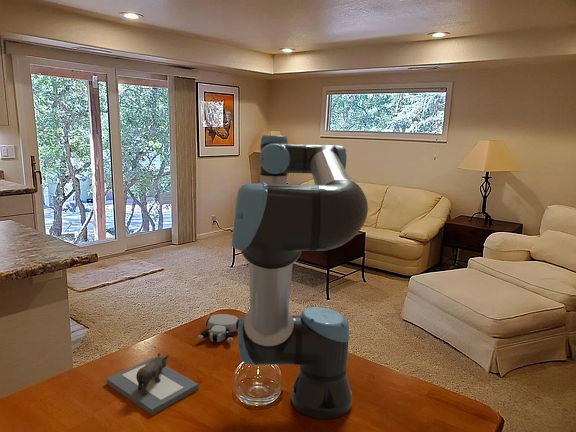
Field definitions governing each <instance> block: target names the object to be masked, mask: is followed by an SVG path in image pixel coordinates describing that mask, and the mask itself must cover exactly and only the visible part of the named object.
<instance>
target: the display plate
mask: <svg viewBox="0 0 576 432" xmlns="http://www.w3.org/2000/svg"><path fill="white" fill-rule="evenodd" d="M153 359H154V358H153V357H151V358H150V359H148V360H145V361H143V362H140V363H138V364H135V365H134V366H132V367H130V368H127V369H125V370H123V371H120V372H118V373H115V374H113V375H111V376H109V377H107V378H105V381H106V385H108V387H110V388H112V389H113V390H115V391H117V392H118V393H120V395H122V396H124V397H125V398H126V399H128V400H130V401H131V402H132V403H133V404H135V405H137V406H138V407H139V408H141V409H142V410H144V411H145V412H147V413H148V414H150V415H151V416H153V415H156V414H157V413H159V412H161V411H162V410H165V409H166V408H168V407H170V406H171V405H173V404H176V403H177V402H179V401H181V400H182V399H184V398H185V397H187V396H189V395H191V394H194V393H195V392H196V391H198V390H199V383H197V382H195V380H192V379H190V378H189V377H186V376H185V375H183V374H182V373H180V372H178V371H176V370H174V369H172V368H170V367H169V366H167V365H166V366H165V367H164V368H163V369H162V371H161V373H160V375H159V378H160V379H161V380H160V382H156V381H155V378H154V379H152V380H150V382H149V383H148V385H147V387H146V390H147V394H145V395H142V394H141V392H142V390H138V387H139V386H138V382H137V378H136V375H137V372H138V371H139V369H140V368H142V367H144V366H145V365H147V364H148V363H149V362H150V361H151V360H153ZM142 385H143V384H142Z"/></svg>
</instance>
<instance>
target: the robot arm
mask: <svg viewBox="0 0 576 432" xmlns="http://www.w3.org/2000/svg"><path fill="white" fill-rule="evenodd" d="M259 148H260V153H259V157H258V158H259V163H260V177H259V178H260V179H259V181H260V182H259V183H245V184H243V185H241V186H240V187H239V188H238V190H237V197H236V201H235V202H236V203H235V211H234V212H235V213H234V219H233V220H234V221H233V227H232V238H231V247H232V249H234V250H238V251H241V254H242V257H243V258H244V259H245V260H246V262H248V268H249V270H248V271H249V279H248V280H249V309H248V311H247V313H246V314H243V315H241V316H240V318H238V319H239V324H238V329H237V342H238V353H239V357H240V359H241V361H242V362H243V364H244V363H245V364H248V365H254V366H260V365H261V366H262V365H263V366H265V365H268V366H270V365H272V366H274V365H277V366H278V365H279V366H281V365H283V366H284V365H285V366H287V365H288V366H292V365H294V366H299V372H298V374H297V376H296V379H295V382H294V384H293V386H292V390H291V402H292V403H291V404H292V405H293V406H294V408H295V409H296V410H298V412H300V413H301V414H303V415H305V416H308V417H309V418H315V419H321V420H322V419H323V420H331V419H336V418H339V417H342V416H344V415H346V414H347V413H348V412H349V411H350V410H351V408H352V402H353V401H352V400H353V392H352V390H351V386H350V383H349V379H348V375H347V368H348V353H349V342H350V328H349V327H350V325H349V321H348V319H347V318H346V317H345V316H344V315H343V314H341V313H340V312H338V311H336V310H333V309H330V308H327V307H322V306H311V307H307V308H304V309H303V310H302V312H301V315H292V313H291V311H290V310H289V309H290V297H291V284H292V273H293V264H294V263H295V262H297V260H298V259H299V258H300V256H301V255H302V251H303V252H304V251H306V252H307V251H309V252H311V251H313V252H315V251H316V252H321V251H322V252H324V251H328V250H333V249H337V248H340V247H341V246H343V245H345V244H346V243H348V242H350V241H351V240H352V239H353V238H354V237H356V235H357V234H358V233H359V232H360V231H361V229H362V228H363V226H364V225H365V222H366V220H367V217H368V212H369V206H368V205H369V204H368V199H367V196H366V195H365V192H364V191H363V189H362V188H361V186H359V185H358V183H356V182H355V181H352V180H351V177H350V176H349V174H348V173H347V171H346V167H347V150H346V147H344V146H343V145H335V144H332V143H331V144H305V143H302V144H301V143H288V137H287V136H286V135H277V134H276V135H273V134H271V135H270V134H266V135H265V134H264V135H262V136H261V138H260V147H259ZM287 174H311V175H312V178H313V182H314V184H292V183H291V184H288V183H287V182H288V181H287Z"/></svg>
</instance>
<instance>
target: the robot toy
mask: <svg viewBox="0 0 576 432" xmlns="http://www.w3.org/2000/svg"><path fill="white" fill-rule="evenodd" d="M239 319H240V318H239V317H237V316H236V315H232V314H227V313H224V314H223V313H218V314H213V315H211V316H210V313H208V314H207V317H206V320H205V322H204V323H205V327H207V328H208V330H204V331H201V333H200V334H199V335H198V336H197V339H199V340H203V339H204V340H205V339H206V338H207V337H209V339H210V342H212V343H213V342H215V343H216V342H217V343H221V342H223V341H224V340H225V339H226V341H227V342H233V340H234V338H233V336H232V335H233V334H232V333H234V332H235V331H236V330H238V324H239Z"/></svg>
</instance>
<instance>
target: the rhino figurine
mask: <svg viewBox="0 0 576 432" xmlns="http://www.w3.org/2000/svg"><path fill="white" fill-rule="evenodd" d="M168 358H169V354H167V355H165V356H164V355H163V356H162V355H161V353H160V352H158V353H157V356H156V357H154V358H153V360H151V361H150V362H149V363H148V364H147V365H145V366H144V367H142V368H140V369H139V371H138V372H137V375H136V378H137V382H138V386H139V387H138V390H142V392H141V394H142V395H145V394H147V390H146V387H147V385H148V383H149V382H150V380H152V379H154V378H155V381H156V382H160V380H161V379H160V378H159V375H160V373H161V371H162V369H163V368H164V367H165V366H167V360H168ZM142 384H143V385H142Z"/></svg>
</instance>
